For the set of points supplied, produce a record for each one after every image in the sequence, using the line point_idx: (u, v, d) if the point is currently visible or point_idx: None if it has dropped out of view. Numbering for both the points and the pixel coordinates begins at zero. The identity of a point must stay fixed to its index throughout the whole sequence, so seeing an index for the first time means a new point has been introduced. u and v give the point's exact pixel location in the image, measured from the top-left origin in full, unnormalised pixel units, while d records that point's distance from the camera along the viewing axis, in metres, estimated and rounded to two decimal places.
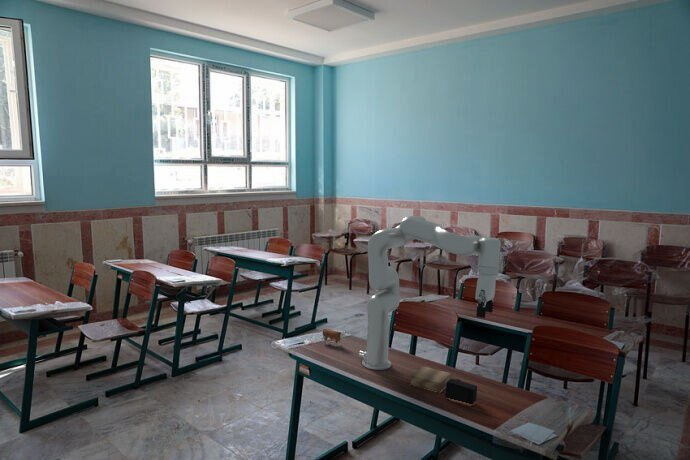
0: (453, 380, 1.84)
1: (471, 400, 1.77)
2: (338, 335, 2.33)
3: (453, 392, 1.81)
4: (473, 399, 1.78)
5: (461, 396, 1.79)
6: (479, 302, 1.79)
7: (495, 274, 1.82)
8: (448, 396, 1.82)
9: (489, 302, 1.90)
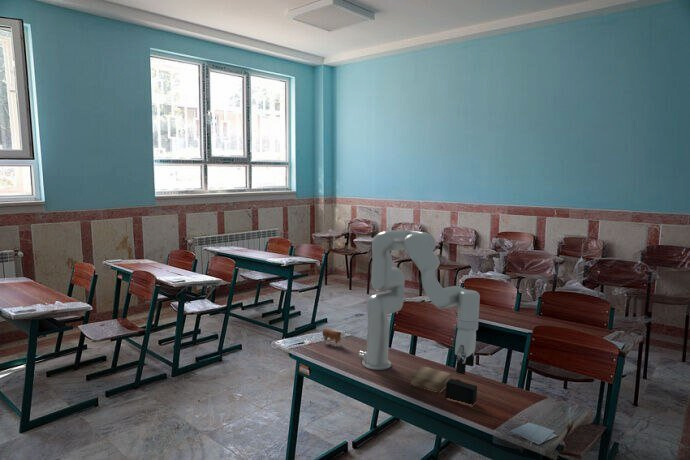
0: (453, 380, 1.83)
1: (471, 401, 1.77)
2: (338, 335, 2.33)
3: (453, 392, 1.81)
4: (473, 399, 1.78)
5: (461, 396, 1.79)
6: (458, 359, 1.74)
7: (474, 329, 1.76)
8: (448, 396, 1.82)
9: (470, 356, 1.84)
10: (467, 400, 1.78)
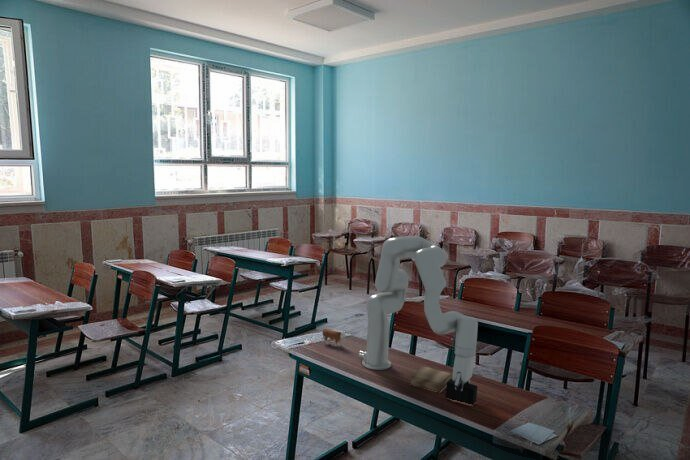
0: None
1: (472, 400, 1.77)
2: (338, 335, 2.33)
3: (453, 392, 1.81)
4: (474, 399, 1.78)
5: None
6: (457, 386, 1.76)
7: (472, 355, 1.77)
8: (448, 396, 1.82)
9: None
10: (467, 400, 1.78)
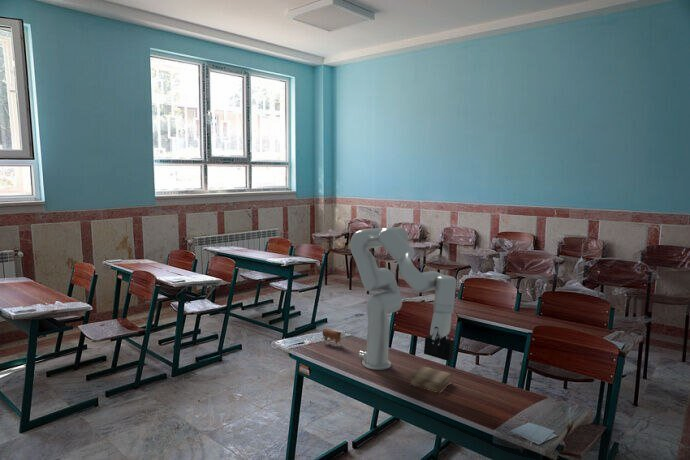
0: (431, 336, 1.93)
1: (448, 354, 1.86)
2: (338, 335, 2.33)
3: (431, 347, 1.90)
4: (450, 353, 1.87)
5: None
6: (434, 341, 1.86)
7: (449, 312, 1.86)
8: (426, 350, 1.91)
9: None
10: (444, 354, 1.87)
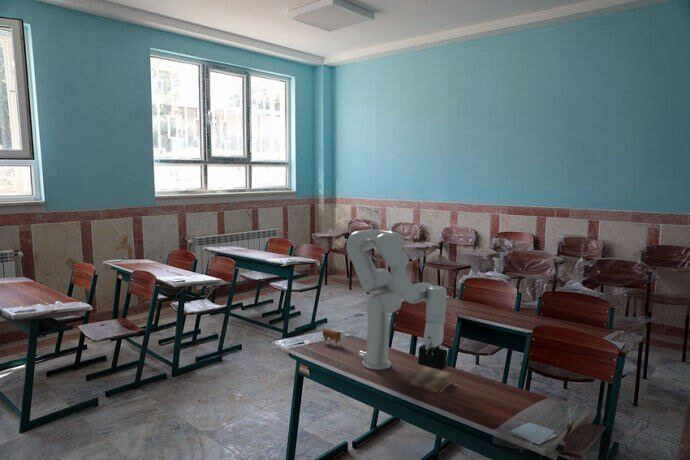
0: (425, 346, 1.96)
1: (442, 363, 1.90)
2: (338, 335, 2.33)
3: (425, 357, 1.93)
4: (444, 362, 1.90)
5: None
6: None
7: (441, 322, 1.90)
8: (420, 361, 1.95)
9: None
10: (438, 363, 1.91)
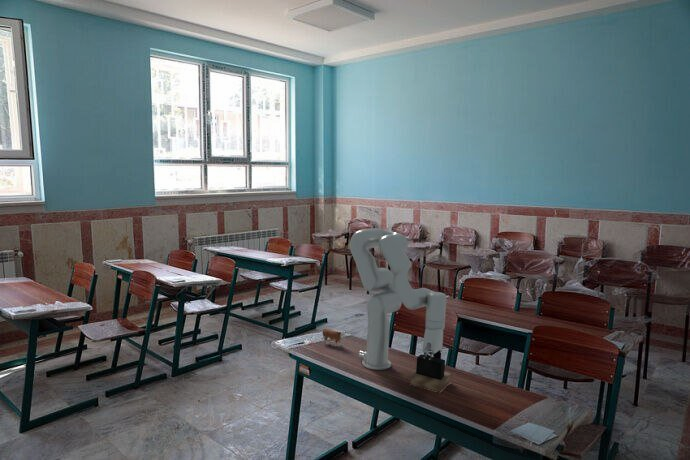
0: (423, 355, 1.96)
1: (440, 373, 1.90)
2: (338, 335, 2.33)
3: (423, 366, 1.94)
4: (442, 372, 1.91)
5: (430, 370, 1.92)
6: (425, 355, 1.88)
7: (441, 328, 1.90)
8: (418, 370, 1.95)
9: (437, 353, 1.98)
10: (436, 373, 1.91)
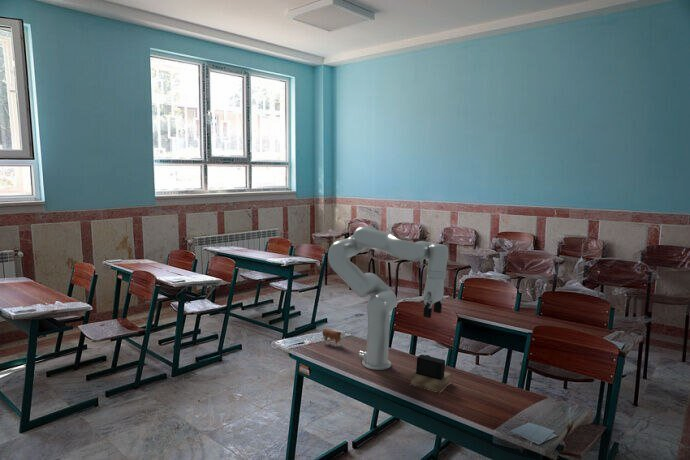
0: (423, 356, 1.96)
1: (440, 373, 1.90)
2: (338, 335, 2.33)
3: (423, 366, 1.94)
4: (442, 372, 1.91)
5: (430, 370, 1.92)
6: (425, 303, 1.95)
7: (441, 278, 1.97)
8: (418, 370, 1.95)
9: (438, 304, 2.05)
10: (436, 373, 1.91)
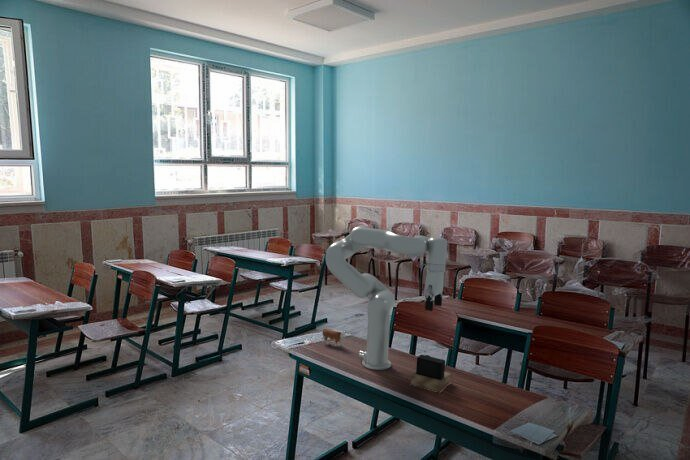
0: (423, 356, 1.96)
1: (440, 373, 1.90)
2: (338, 335, 2.33)
3: (423, 367, 1.93)
4: (442, 372, 1.91)
5: (430, 370, 1.92)
6: (426, 296, 1.97)
7: (442, 271, 1.99)
8: (418, 371, 1.95)
9: (438, 296, 2.07)
10: (436, 373, 1.91)
